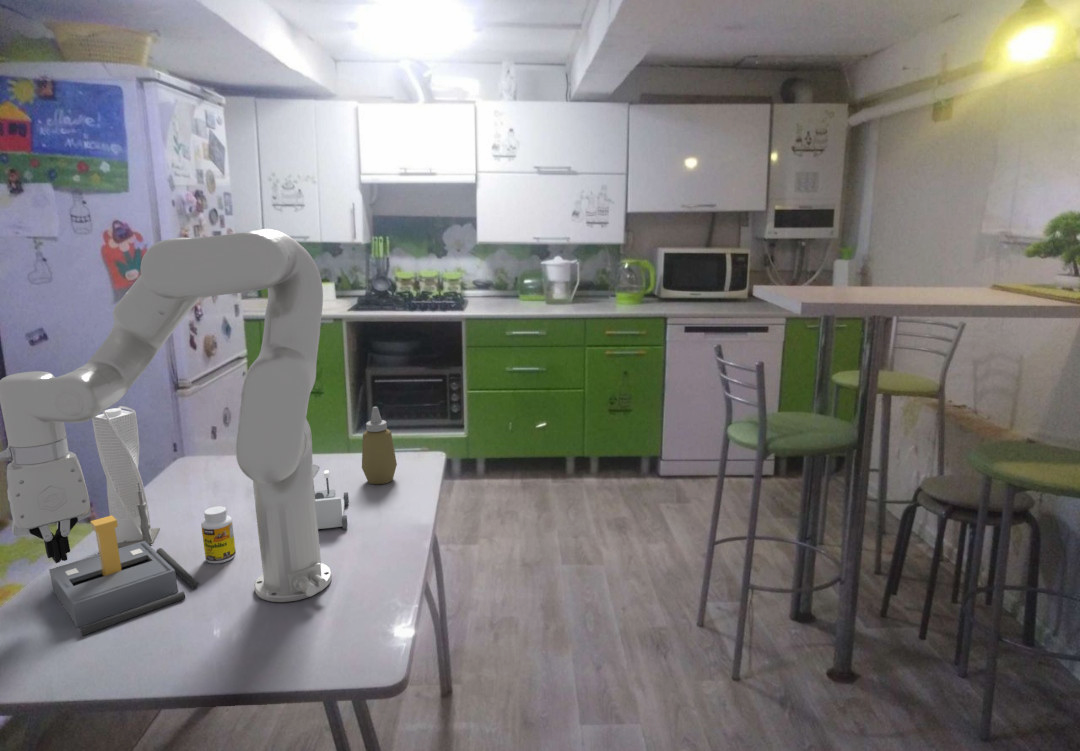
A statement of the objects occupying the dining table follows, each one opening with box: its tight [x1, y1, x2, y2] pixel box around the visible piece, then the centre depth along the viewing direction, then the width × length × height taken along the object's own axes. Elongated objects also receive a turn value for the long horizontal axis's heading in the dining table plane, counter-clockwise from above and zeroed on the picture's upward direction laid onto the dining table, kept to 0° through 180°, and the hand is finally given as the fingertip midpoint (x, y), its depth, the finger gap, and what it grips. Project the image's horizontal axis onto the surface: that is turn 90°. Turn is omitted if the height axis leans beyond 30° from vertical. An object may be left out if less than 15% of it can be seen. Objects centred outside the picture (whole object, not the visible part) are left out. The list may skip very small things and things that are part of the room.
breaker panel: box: [48, 541, 179, 628], centre depth 124 cm, size 16×15×4 cm
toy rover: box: [313, 464, 350, 531], centre depth 153 cm, size 18×10×12 cm
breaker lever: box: [90, 515, 122, 576], centre depth 123 cm, size 3×3×10 cm
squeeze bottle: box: [361, 406, 398, 485], centre depth 171 cm, size 8×8×18 cm
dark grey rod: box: [155, 547, 199, 589], centre depth 131 cm, size 18×1×1 cm, turn 44°
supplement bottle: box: [200, 505, 237, 564], centre depth 135 cm, size 5×5×10 cm
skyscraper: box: [91, 405, 161, 549], centre depth 141 cm, size 8×8×28 cm
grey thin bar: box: [79, 591, 186, 636], centre depth 117 cm, size 1×15×1 cm, turn 134°
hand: (59, 558), depth 118 cm, fingers closed
